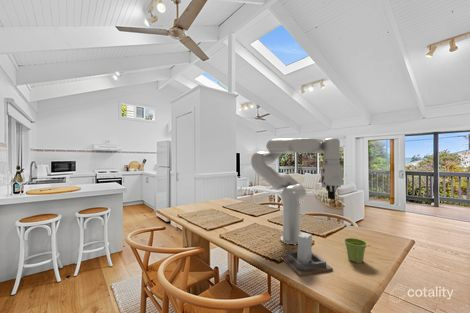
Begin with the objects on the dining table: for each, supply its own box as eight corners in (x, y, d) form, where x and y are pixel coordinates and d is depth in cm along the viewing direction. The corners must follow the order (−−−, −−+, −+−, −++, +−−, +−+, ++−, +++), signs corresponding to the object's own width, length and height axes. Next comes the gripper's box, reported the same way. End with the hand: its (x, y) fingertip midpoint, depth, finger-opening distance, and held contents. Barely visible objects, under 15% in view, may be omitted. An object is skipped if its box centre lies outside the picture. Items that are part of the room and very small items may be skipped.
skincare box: (302, 257, 100) (302, 231, 100) (312, 260, 97) (312, 234, 97) (296, 262, 95) (296, 235, 95) (306, 266, 92) (306, 238, 92)
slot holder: (280, 258, 101) (280, 251, 101) (309, 254, 106) (309, 248, 106) (299, 276, 86) (299, 269, 86) (332, 270, 90) (332, 263, 90)
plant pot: (340, 255, 105) (340, 237, 105) (359, 255, 104) (359, 237, 104) (350, 264, 95) (350, 245, 95) (371, 265, 95) (371, 245, 95)
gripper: (324, 163, 102) (323, 201, 102) (349, 162, 106) (349, 199, 106) (314, 162, 110) (314, 198, 109) (338, 162, 114) (338, 196, 114)
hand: (331, 198), depth 108 cm, fingers closed
